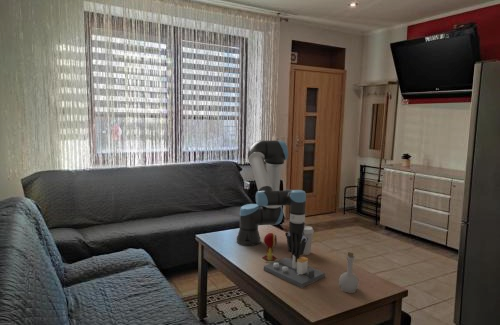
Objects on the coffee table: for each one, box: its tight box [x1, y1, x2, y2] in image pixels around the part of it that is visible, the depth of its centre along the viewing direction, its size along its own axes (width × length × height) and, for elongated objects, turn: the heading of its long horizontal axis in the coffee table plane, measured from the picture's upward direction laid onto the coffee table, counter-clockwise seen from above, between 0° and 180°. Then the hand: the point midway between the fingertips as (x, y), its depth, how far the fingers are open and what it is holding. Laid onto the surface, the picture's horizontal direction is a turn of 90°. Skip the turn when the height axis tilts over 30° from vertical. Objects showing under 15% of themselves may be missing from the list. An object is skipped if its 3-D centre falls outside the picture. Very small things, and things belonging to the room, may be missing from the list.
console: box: [263, 257, 326, 289], centre depth 175 cm, size 25×18×5 cm
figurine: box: [260, 232, 279, 264], centre depth 191 cm, size 9×10×15 cm
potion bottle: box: [338, 251, 360, 294], centre depth 159 cm, size 9×9×18 cm
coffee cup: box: [301, 225, 315, 256], centre depth 202 cm, size 10×10×15 cm
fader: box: [297, 256, 309, 275], centre depth 171 cm, size 3×5×7 cm
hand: (295, 267), depth 174 cm, fingers closed
